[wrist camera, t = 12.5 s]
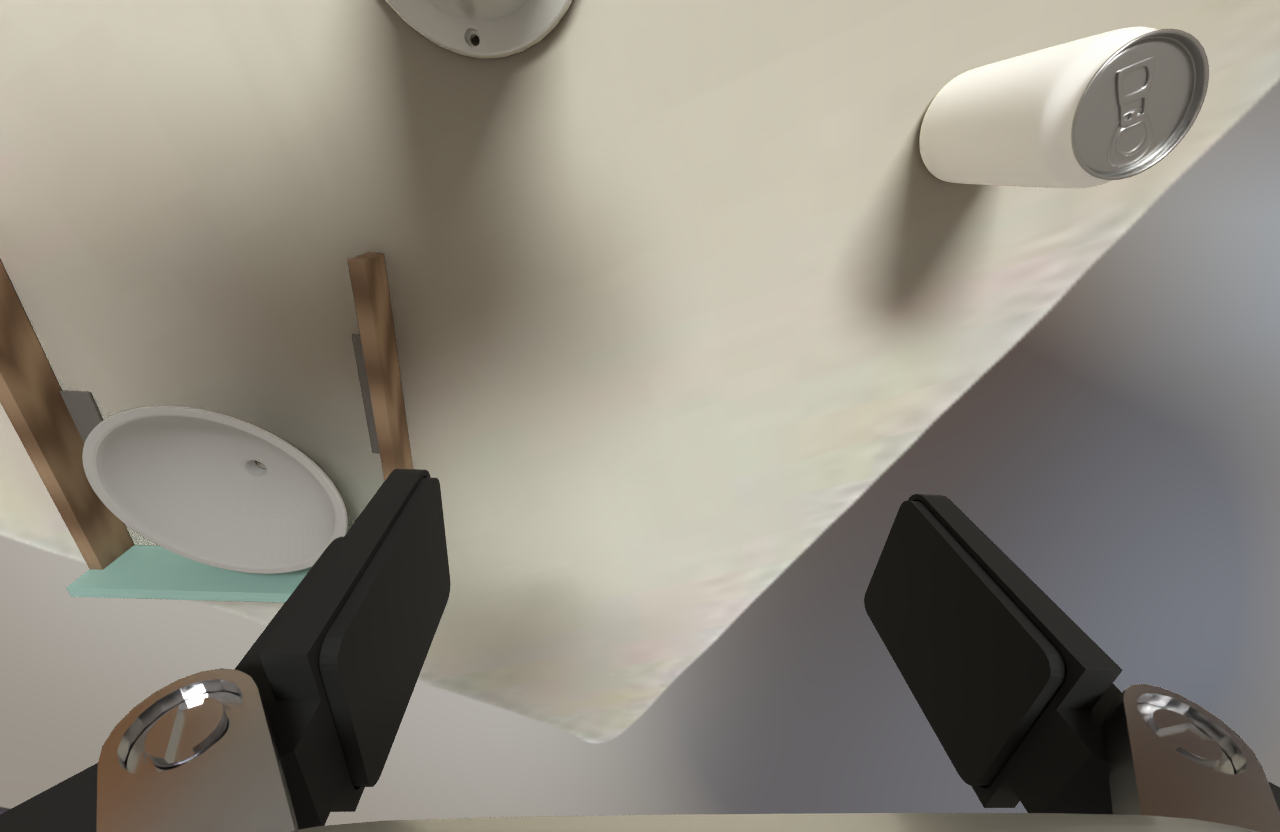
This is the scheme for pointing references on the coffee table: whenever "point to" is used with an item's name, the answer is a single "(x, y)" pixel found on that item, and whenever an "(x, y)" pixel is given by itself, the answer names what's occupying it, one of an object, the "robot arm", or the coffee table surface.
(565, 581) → the coffee table surface
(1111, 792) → the robot arm
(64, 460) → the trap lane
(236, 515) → the dish
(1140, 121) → the can
